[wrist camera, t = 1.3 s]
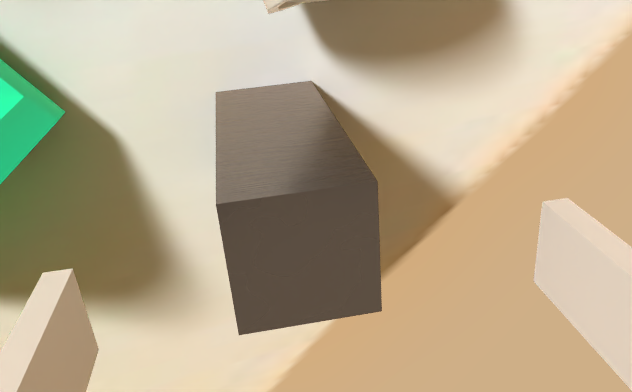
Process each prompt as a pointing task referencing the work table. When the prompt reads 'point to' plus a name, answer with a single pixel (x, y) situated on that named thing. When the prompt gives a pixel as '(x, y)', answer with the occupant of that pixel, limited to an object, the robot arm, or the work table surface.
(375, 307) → the square peg
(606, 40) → the work table surface
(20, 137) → the camera mount
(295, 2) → the spotlight
